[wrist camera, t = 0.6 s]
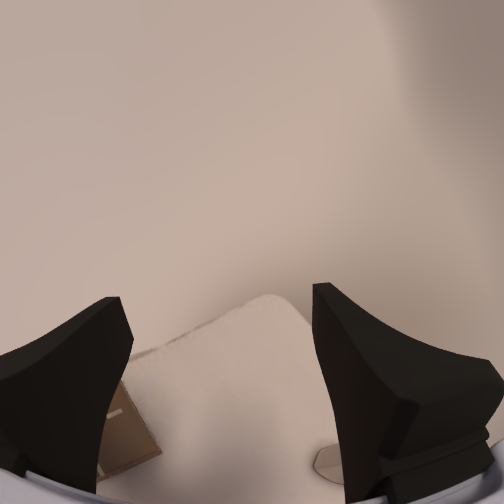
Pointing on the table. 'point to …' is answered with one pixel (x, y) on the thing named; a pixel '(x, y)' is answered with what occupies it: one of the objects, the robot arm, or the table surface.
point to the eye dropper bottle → (330, 464)
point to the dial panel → (124, 438)
